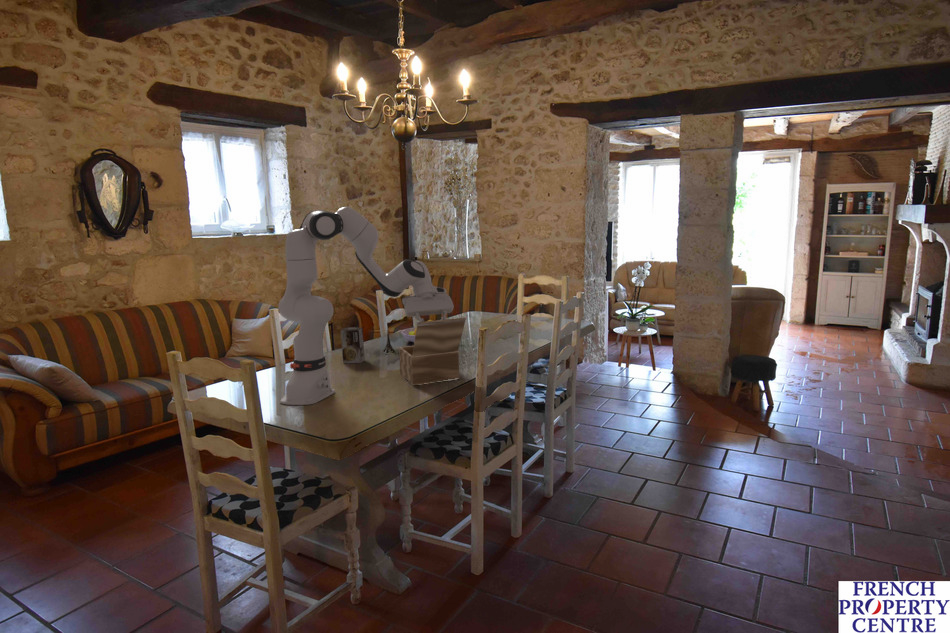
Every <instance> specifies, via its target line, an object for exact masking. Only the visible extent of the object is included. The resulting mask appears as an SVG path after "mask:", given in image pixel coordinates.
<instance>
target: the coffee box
mask: <svg viewBox="0 0 950 633" xmlns="http://www.w3.org/2000/svg"><path fill="white" fill-rule="evenodd" d="M340 339H341V352H342V363H343V364H362V363H363V362H364V361H365V346H364V344H365V343H364V331H363V327H357V326H356V327H344V328H342V329H340Z"/></svg>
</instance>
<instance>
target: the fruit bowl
mask: <svg viewBox="0 0 950 633" xmlns="http://www.w3.org/2000/svg"><path fill="white" fill-rule="evenodd" d="M427 321H434V320H432V319H428V320H427ZM416 329H417V326H414V327H410V328H405V329H403V330H402V331H401V332H400V333H401V334H400V335H402V337H403V338H404V340H406V341H409V342H410V343H411V342H412V343H413V344H414V341H415V335H416Z"/></svg>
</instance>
